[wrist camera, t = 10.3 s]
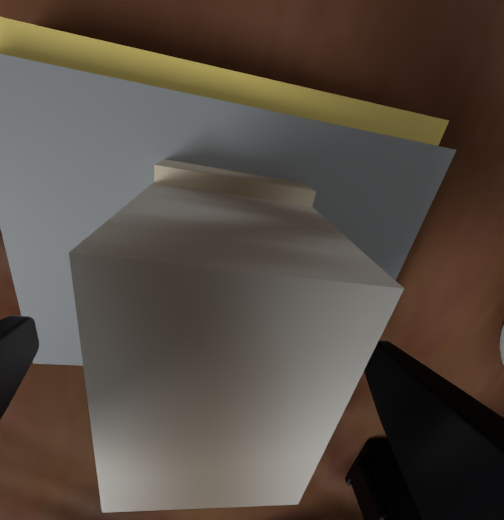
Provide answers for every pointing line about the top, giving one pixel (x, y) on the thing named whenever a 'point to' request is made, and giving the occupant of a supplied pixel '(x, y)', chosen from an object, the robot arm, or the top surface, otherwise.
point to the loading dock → (182, 155)
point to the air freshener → (502, 344)
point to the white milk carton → (220, 339)
